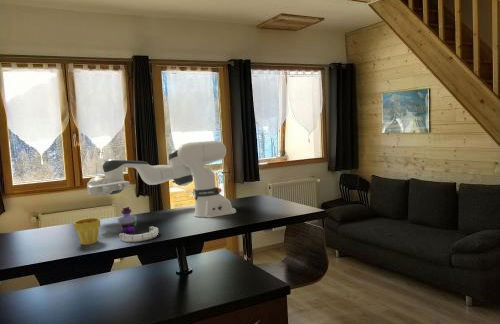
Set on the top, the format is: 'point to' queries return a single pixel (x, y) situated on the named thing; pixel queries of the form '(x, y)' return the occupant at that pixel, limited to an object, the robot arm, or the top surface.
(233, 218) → the top surface
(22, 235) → the top surface
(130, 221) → the potion bottle
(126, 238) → the white segmented arc
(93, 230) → the plant pot
